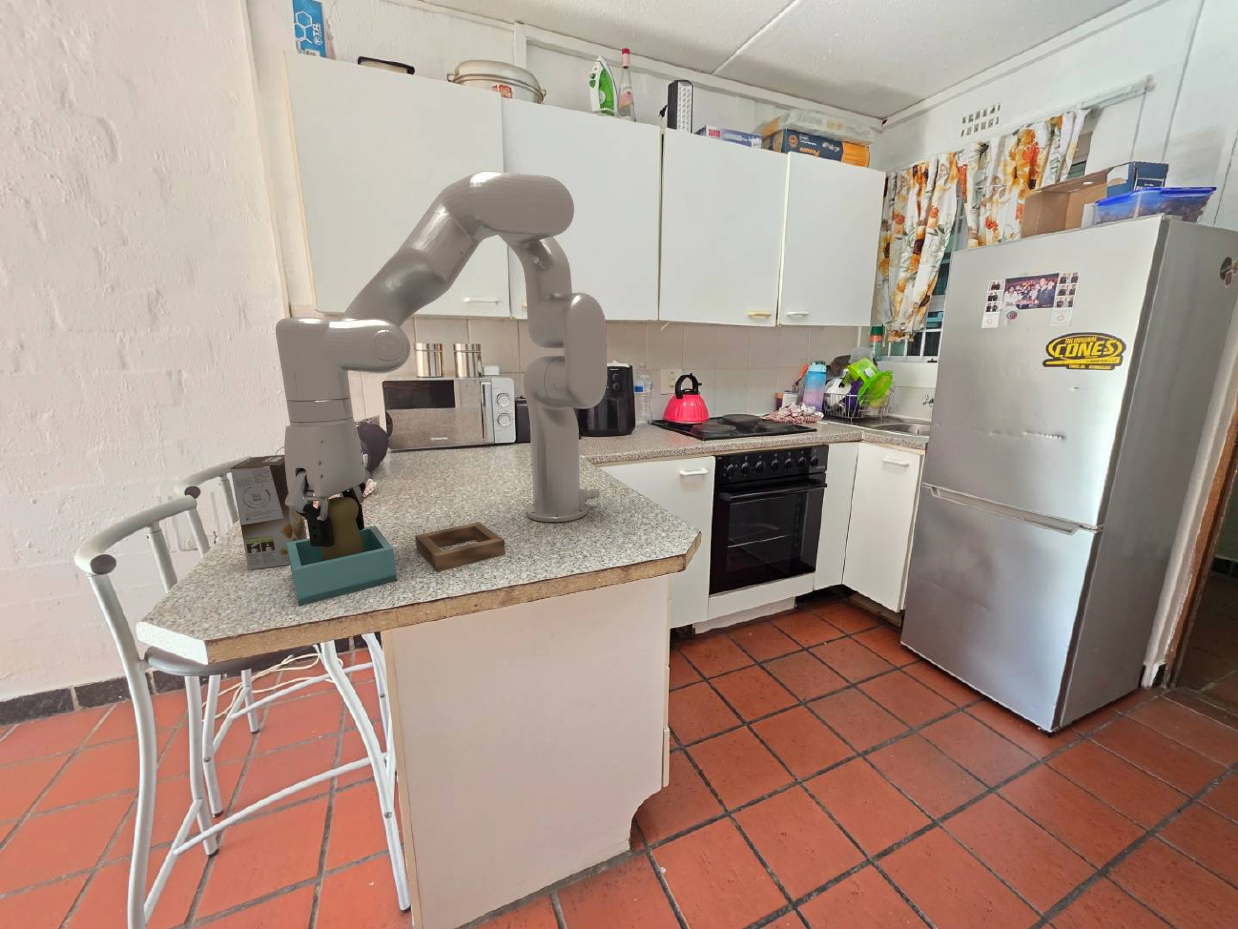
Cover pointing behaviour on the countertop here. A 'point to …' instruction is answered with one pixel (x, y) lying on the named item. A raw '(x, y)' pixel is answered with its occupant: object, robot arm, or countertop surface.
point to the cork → (343, 528)
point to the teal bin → (340, 568)
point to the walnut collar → (459, 556)
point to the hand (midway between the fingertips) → (338, 536)
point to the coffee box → (265, 511)
